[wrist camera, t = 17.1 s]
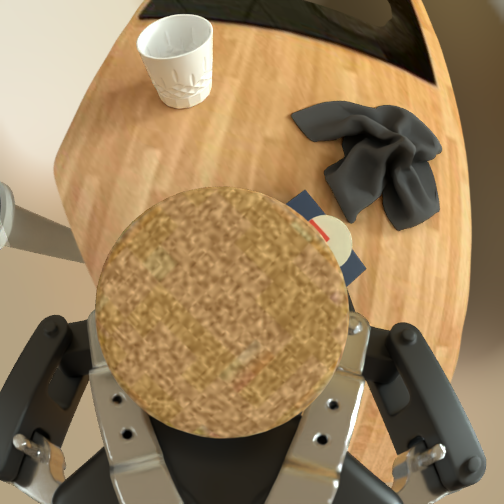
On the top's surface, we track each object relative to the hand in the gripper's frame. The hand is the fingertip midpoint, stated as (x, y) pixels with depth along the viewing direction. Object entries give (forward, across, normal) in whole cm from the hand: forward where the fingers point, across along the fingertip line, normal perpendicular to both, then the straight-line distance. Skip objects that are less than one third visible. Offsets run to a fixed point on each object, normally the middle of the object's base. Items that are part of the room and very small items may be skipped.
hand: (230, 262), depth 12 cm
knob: (+12, +7, -9) cm, 17 cm away
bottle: (+4, 0, -7) cm, 8 cm away
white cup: (+29, -7, +4) cm, 30 cm away
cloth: (+23, +17, -2) cm, 29 cm away
